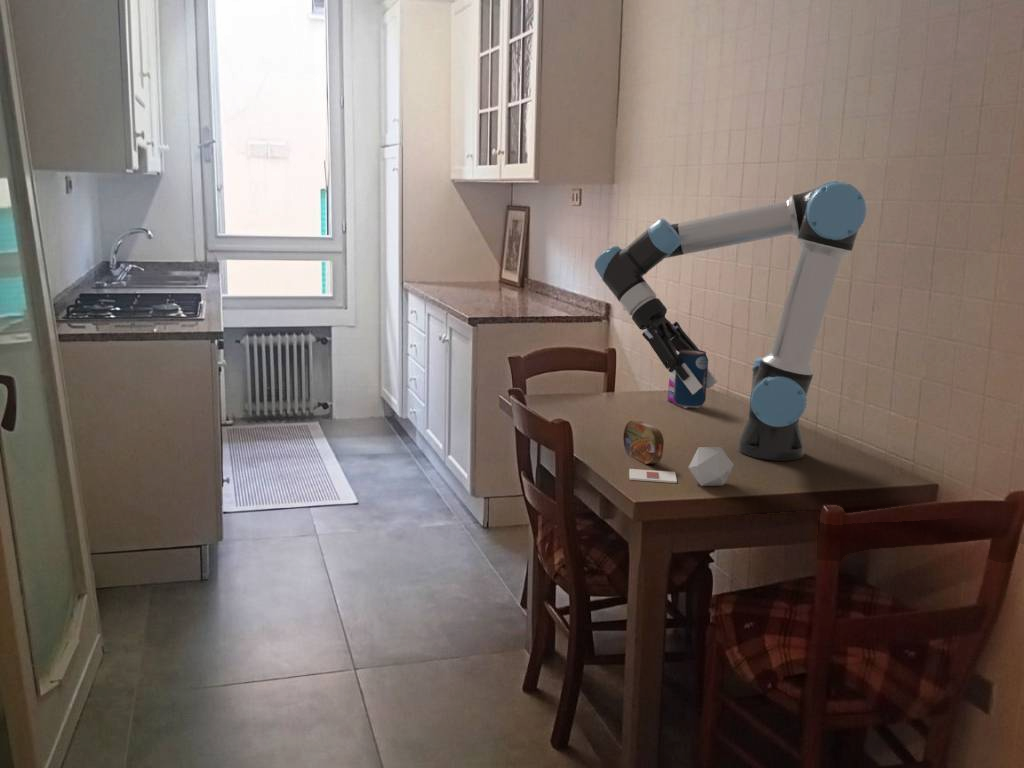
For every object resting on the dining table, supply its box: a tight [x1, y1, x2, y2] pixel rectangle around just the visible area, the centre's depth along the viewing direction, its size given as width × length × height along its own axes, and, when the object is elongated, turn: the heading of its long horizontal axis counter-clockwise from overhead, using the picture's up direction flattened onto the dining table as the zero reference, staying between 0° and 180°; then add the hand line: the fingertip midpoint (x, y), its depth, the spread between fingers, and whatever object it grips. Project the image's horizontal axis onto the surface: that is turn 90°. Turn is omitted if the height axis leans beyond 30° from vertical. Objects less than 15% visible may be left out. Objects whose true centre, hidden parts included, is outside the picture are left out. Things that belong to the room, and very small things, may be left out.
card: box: [628, 468, 678, 484], centre depth 208 cm, size 10×7×1 cm
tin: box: [622, 420, 665, 465], centre depth 221 cm, size 15×3×8 cm, turn 21°
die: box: [688, 446, 734, 487], centre depth 204 cm, size 8×9×10 cm
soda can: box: [674, 349, 709, 408], centre depth 212 cm, size 7×7×12 cm
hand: (705, 387), depth 211 cm, fingers closed on soda can, 7 cm apart
